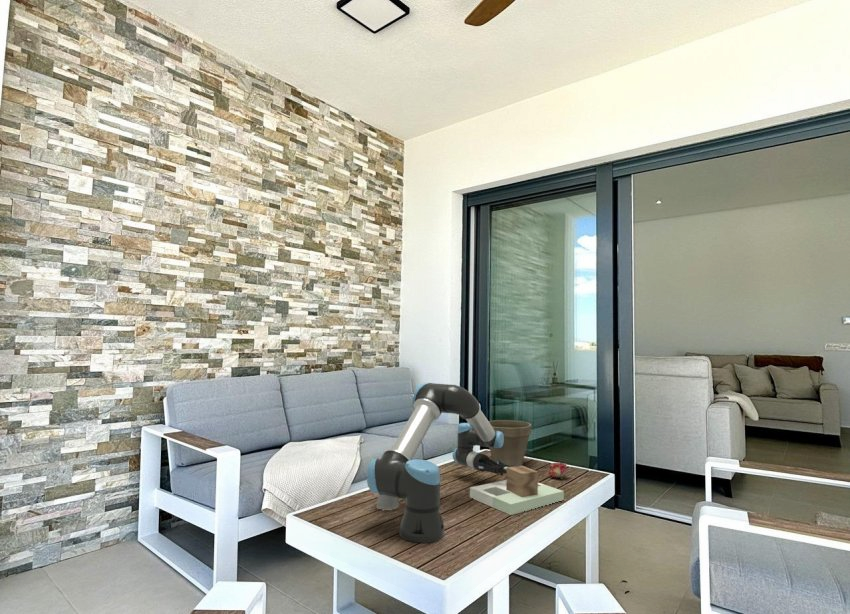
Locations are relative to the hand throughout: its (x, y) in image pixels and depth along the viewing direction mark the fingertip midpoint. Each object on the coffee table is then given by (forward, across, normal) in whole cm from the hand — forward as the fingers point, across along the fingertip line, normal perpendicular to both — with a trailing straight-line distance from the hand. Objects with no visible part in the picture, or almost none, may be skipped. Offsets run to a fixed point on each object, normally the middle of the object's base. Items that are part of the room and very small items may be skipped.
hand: (515, 473), depth 202 cm
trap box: (+1, +1, -10) cm, 10 cm away
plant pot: (-40, -34, -10) cm, 54 cm away
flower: (-10, -38, -10) cm, 41 cm away
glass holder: (-18, +48, -10) cm, 52 cm away
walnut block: (+5, +2, -6) cm, 8 cm away
